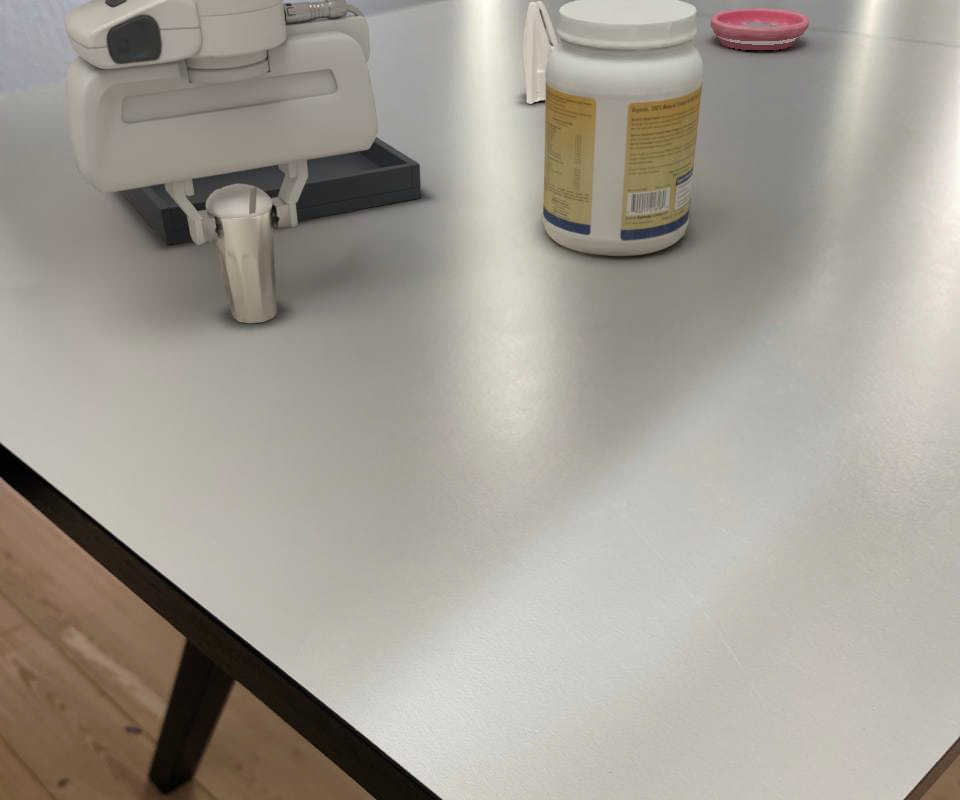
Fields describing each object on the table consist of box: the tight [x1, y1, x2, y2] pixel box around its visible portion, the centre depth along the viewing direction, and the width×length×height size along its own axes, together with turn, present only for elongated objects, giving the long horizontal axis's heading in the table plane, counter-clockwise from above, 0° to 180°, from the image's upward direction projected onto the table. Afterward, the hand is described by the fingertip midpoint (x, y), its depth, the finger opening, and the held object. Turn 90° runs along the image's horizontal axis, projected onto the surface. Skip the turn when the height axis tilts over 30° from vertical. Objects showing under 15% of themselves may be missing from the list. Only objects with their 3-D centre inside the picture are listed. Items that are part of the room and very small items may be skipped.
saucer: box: [710, 8, 810, 51], centre depth 145 cm, size 12×12×3 cm
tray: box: [120, 136, 422, 246], centre depth 102 cm, size 24×16×3 cm, turn 118°
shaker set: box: [522, 0, 559, 105], centre depth 125 cm, size 12×4×11 cm, turn 108°
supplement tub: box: [542, 0, 704, 257], centre depth 89 cm, size 12×12×17 cm
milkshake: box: [206, 184, 278, 324], centre depth 79 cm, size 4×5×10 cm
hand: (244, 233), depth 78 cm, fingers closed on milkshake, 4 cm apart
